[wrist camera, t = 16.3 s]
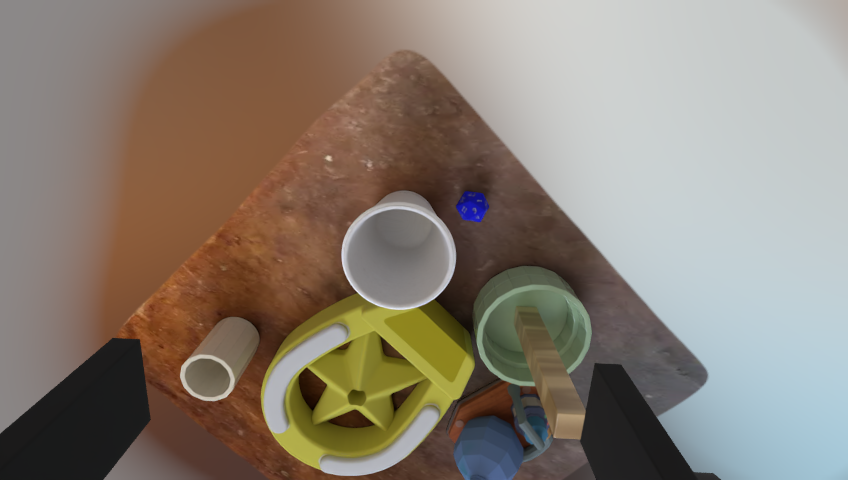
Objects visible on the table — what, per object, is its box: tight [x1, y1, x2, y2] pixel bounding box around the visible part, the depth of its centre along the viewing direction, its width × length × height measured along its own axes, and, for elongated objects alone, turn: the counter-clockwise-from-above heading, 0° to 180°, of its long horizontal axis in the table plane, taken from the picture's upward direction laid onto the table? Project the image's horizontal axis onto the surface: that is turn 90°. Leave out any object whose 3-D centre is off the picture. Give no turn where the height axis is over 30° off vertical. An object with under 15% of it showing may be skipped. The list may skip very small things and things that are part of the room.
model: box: [446, 378, 553, 480], centre depth 48 cm, size 12×9×9 cm
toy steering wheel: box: [261, 293, 475, 476], centre depth 49 cm, size 16×21×5 cm
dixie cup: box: [342, 190, 456, 310], centre depth 41 cm, size 8×8×10 cm
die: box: [456, 191, 489, 222], centre depth 44 cm, size 3×3×3 cm
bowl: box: [472, 266, 592, 386], centre depth 47 cm, size 10×10×5 cm
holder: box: [180, 317, 260, 401], centre depth 47 cm, size 5×5×7 cm
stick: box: [514, 306, 586, 439], centre depth 41 cm, size 2×2×16 cm
